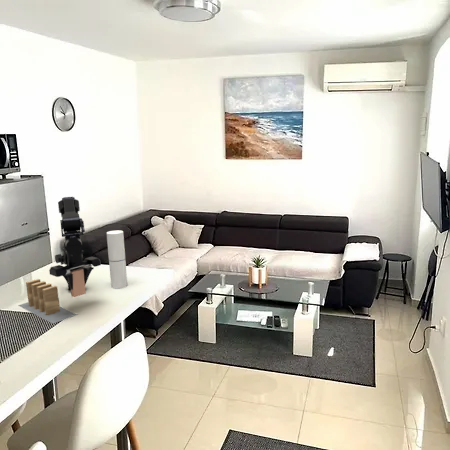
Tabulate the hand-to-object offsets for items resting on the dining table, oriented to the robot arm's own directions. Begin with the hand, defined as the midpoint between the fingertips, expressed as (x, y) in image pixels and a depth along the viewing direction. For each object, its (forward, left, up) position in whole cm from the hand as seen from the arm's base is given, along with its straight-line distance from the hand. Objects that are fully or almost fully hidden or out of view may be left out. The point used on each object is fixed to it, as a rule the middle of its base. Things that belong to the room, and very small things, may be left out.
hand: (77, 287), depth 170 cm
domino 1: (+17, -11, -9) cm, 22 cm away
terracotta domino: (0, 0, -3) cm, 3 cm away
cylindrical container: (-17, -23, -10) cm, 30 cm away
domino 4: (+10, 0, -9) cm, 13 cm away
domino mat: (+12, -3, -9) cm, 16 cm away
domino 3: (+12, -3, -9) cm, 15 cm away
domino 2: (+14, -7, -9) cm, 18 cm away
